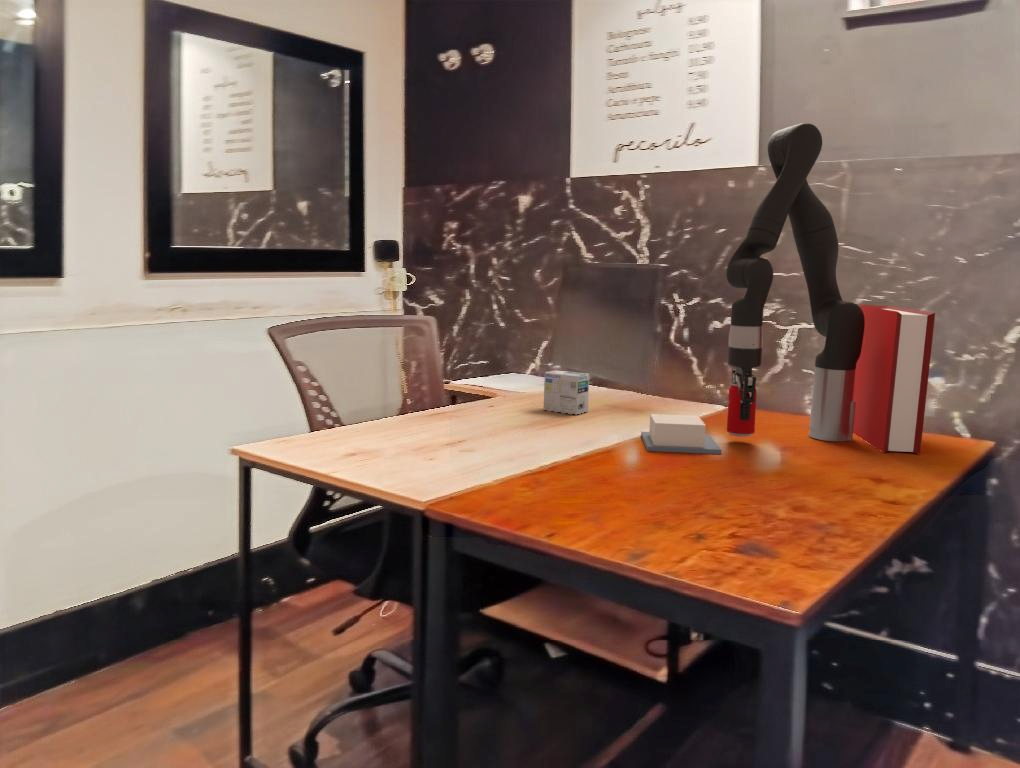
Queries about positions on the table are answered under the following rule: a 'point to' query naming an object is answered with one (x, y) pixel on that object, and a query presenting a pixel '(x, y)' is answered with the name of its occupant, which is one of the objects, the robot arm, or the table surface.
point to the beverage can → (733, 420)
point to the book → (893, 377)
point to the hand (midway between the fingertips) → (741, 416)
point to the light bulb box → (566, 392)
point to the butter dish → (678, 435)
